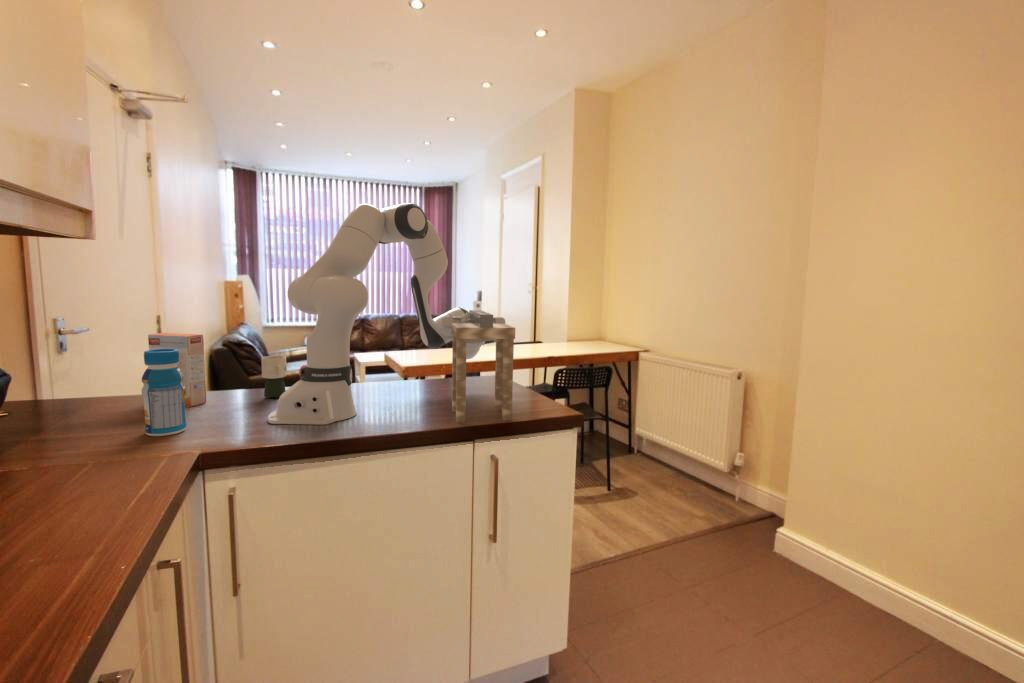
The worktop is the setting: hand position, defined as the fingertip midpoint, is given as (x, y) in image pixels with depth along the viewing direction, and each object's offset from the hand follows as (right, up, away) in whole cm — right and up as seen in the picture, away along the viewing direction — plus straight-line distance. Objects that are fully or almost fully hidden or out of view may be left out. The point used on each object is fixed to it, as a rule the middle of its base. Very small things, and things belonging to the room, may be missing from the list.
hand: (476, 315), depth 145 cm
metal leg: (+2, -3, -7) cm, 8 cm away
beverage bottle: (-73, -30, -29) cm, 85 cm away
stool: (+2, -29, -8) cm, 30 cm away
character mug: (-65, -26, +7) cm, 70 cm away
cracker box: (-88, -27, -3) cm, 92 cm away
